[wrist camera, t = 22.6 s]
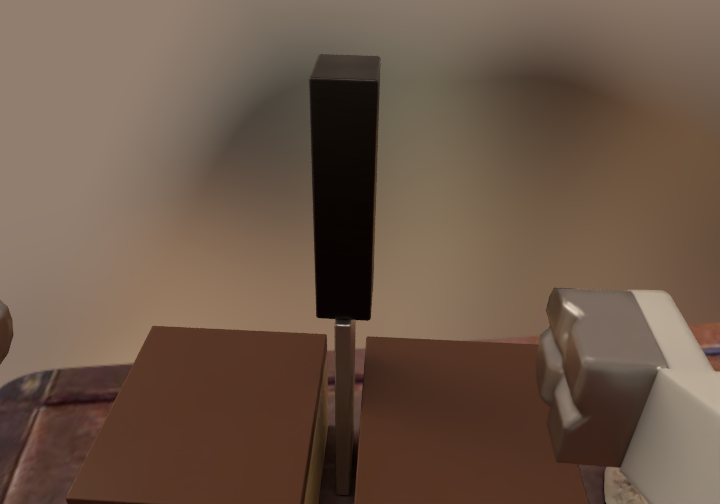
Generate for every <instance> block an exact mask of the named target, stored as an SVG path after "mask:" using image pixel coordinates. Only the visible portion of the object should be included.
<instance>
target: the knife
mask: <svg viewBox="0 0 720 504" xmlns="http://www.w3.org/2000/svg"><path fill="white" fill-rule="evenodd" d="M379 87H380V57H378V56H355V55H324V54H321V55H319V56H318V58H317V61H316V63H315V66H314V69H313V71H312V74H311V77H310V79H309V88H310V90H309V91H310V123H311V155H312V189H313V219H314V253H315V286H316V316H317V317H318V318H329V319H335V423H336V494H337V495H349V493H350V481H351V469H352V458H353V446H354V389H355V320H367V321H368V320H370V318H371V306H372V292H373V273H374V272H373V271H374V242H375V212H376V181H377V151H378V150H377V149H378V120H379V89H380V88H379Z"/></svg>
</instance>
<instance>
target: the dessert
mask: <svg viewBox="0 0 720 504" xmlns="http://www.w3.org/2000/svg"><path fill="white" fill-rule="evenodd" d="M619 470H620V468H616V467H607V468H606V470H605V474H604V476H605V479H604V480H605V482H604V494H605V502H606V504H649V503H648V502H647V500H646V499H645V498H644V497H643V496H642V495H641V494H640V493H639V492H638V491H637V489H636V488H635V487H634V486H633V485H632V484H631V483H630V482H629V481H628V480H627V479H626V477H625V476H624V475H623V474H622V473H621V472H620V471H619Z"/></svg>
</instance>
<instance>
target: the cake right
mask: <svg viewBox="0 0 720 504" xmlns="http://www.w3.org/2000/svg"><path fill="white" fill-rule="evenodd" d="M537 348H538V345H533V344H512V343H492V342H471V341H450V340H430V339H408V338H388V337H367V338H366V350H365V363H364V377H363V391H362V404H361V418H360V432H359V445H358V459H357V472H356V486H355V500H354V504H589V502H588V499H587V495H586V491H585V488H584V484H583V480H582V477H581V473H580V469H579V466H578V464H570V463H558V462H556V460H555V456H554V452H553V448H552V444H551V440H550V436H549V432H548V428H547V424H546V422H547V418H548V414H549V410H550V407H549V406H548V405H547V404H546V403H545V402H543V401H542V400H541V399H540V395H539V391H538V386H537V378H536V356H537Z"/></svg>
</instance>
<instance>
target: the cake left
mask: <svg viewBox="0 0 720 504" xmlns="http://www.w3.org/2000/svg"><path fill="white" fill-rule="evenodd" d="M327 432H328V379H327V335H326V334H307V333H287V332H267V331H245V330H225V329H205V328H184V327H163V326H153V327H152V328H151V330H150V332H149V334H148V336H147V338H146V340H145V342H144V344H143V346H142V348H141V350H140V352H139V354H138V356H137V358H136V360H135V362H134V364H133V366H132V368H131V370H130V372H129V374H128V376H127V378H126V380H125V382H124V384H123V386H122V388H121V390H120V391H119V393H118V395H117V397H116V399H115V401H114V403H113V405H112V407H111V409H110V411H109V413H108V415H107V417H106V419H105V421H104V423H103V425H102V427H101V429H100V431H99V433H98V435H97V437H96V439H95V441H94V443H93V445H92V447H91V449H90V451H89V453H88V455H87V457H86V459H85V461H84V463H83V465H82V467H81V469H80V471H79V473H78V475H77V476H76V478H75V480H74V482H73V484H72V486H71V488H70V490H69V492H68V494H67V496H66V501H67V503H68V504H318V503H319V495H320V487H321V479H322V471H323V464H324V456H325V448H326V440H327Z"/></svg>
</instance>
